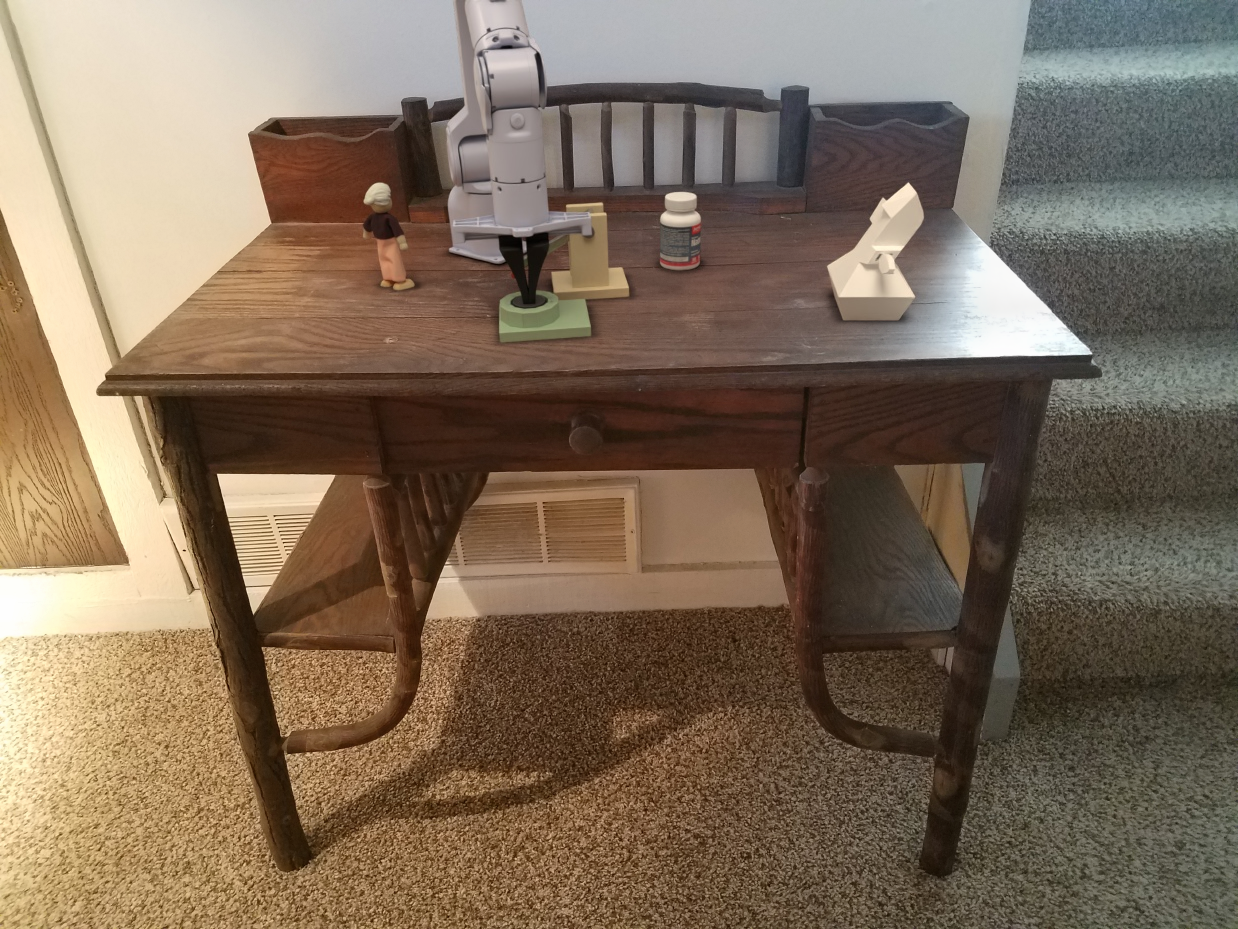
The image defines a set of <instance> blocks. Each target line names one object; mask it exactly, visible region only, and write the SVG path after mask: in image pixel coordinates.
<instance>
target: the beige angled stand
mask: <svg viewBox="0 0 1238 929" xmlns="http://www.w3.org/2000/svg"><path fill="white" fill-rule="evenodd" d="M924 219H925V214H924V209H923V206H922V203H921V201H920V197H919V195H918V192H917V191H916V189H915V188H914V187H913V186H912V184H910V182H907V183H905V185H904V186H902V187H901V188H900V189H899V190H897V191H896V192H895V193H894V194H892V196H890V197H889V198H888V199H886V198H884V197H882V198H881V199H880V201H879V202H878V204H877V206H876V207H875V209H874V211H873V212H872V214H871V216H870V217H869V221H870V222H871V225H870V226H869V227H868V228H867V229H866V232H865V233H864V234H863V235H862V237H861V238H860V240H859V241H858V242H857V244H856V245H855V246H854V248H853V249H851V250H850V251H848V252H846V253H845V254H843V255H842V256H841V257H839V258H837V259H835V260H833V261H832V262H831V263H829V264H828V265H826V268H827V272H828V276H829V281H830V284H831V288H832V292H833V296H834V299H835V302H836V305H837V308H838V310H839V313H840V316H841V318H842V321H900V319H901V318H902V316H903V315H904V314H905V313H906V311H907V310H908V309H909V307H910V306H911V304H912V303H913V301H914V300H915V299H916V296H915V293H914V292H913V290H912V289H911V287H910V285H909V282H908V281H907V280H906V278H905V276H904V274H903V273H902V271H901V269H900V267H899V265H898V264H897V263H896V262H895V260H896V259H897V257H898V256H899V254H900V253H901V252H902V250H903V249H904V248H905V246H906V245H907V244H908V242H909V241H910V240H911V238H912V237H914V235H915V234H916V232H917V231H918V229H920V227H921V226H922V223H923V222H924Z"/></svg>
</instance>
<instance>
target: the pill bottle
mask: <svg viewBox="0 0 1238 929" xmlns="http://www.w3.org/2000/svg"><path fill="white" fill-rule="evenodd" d="M697 202H698V196H697V195H696V194H695V193H692V192H687V191H676V192H675V191H674V192H670V193H667V194H666V195H665V196H664V208H665V209H666V210H665V211H664V212H663V213H662V214H660V217H659V218H660V219H659V227H660V228H659V234H660V235H659V240H660V241H659V242H660V243H659V265H660V266H661V267H662V268H664V269H667V270H670V271H679V272H681V271H683V272H684V271H690V270H694V269H695V268H697V267H699V266H700V264H701V240H702V238H701V237H702V236H701V235H702V234H701V233H702V217H701V215H700V213H698V212H697V211H696V209H697V205H698V203H697Z"/></svg>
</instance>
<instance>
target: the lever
mask: <svg viewBox="0 0 1238 929" xmlns="http://www.w3.org/2000/svg"><path fill="white" fill-rule="evenodd" d="M585 212H589V213H594V212H593V210H592V208H590V209H588V210H586V211H585ZM569 241H570V237H569V235H556V236H555V237H553V238H552V239H549V245H550V246H549V250H548V253H547V255H549V254H551V253H552V252H554V251H555V250H558V249H559V248H561V247H562V246H565V245H566V244H568V242H569ZM524 266H525V268H528V261H527V254H524ZM510 276H511V278H512V279H513V280H514V279H515V277H514V275H513V273H512V271H511V270H510ZM515 280H516V279H515Z"/></svg>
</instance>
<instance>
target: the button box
mask: <svg viewBox="0 0 1238 929" xmlns="http://www.w3.org/2000/svg"><path fill="white" fill-rule="evenodd" d="M536 295H539V296H542V297H544V298H545V303H546V304H545V305H543V306H540V307H537V308H530V309H523V308H516V307H514V306H513V300H514V299H515V298H517V297H519V296H521V292H520V290H519V291H515V292H511V293H508V294H506V295H504V297H502V298H501V299H500V300H499V305H498V306H499V307H498V323H499V324H498V335H499V342H500V343H513V342H524V341H525V342H527V341H540V340H541V341H542V340H553V339H555V340H556V339H567V338H581V337H592V326H591V325H592V324H591V321H590V316H589V312H588V307H587V301H586V299H575V300H560V301H558V296H556V295H554V292H551V291H545V290H539V289H536Z"/></svg>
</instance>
